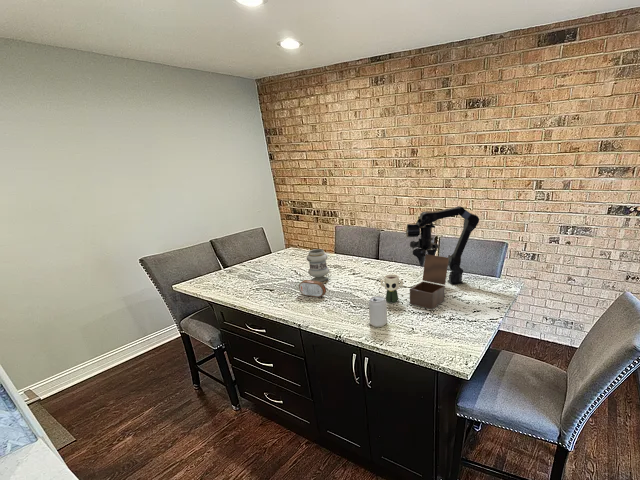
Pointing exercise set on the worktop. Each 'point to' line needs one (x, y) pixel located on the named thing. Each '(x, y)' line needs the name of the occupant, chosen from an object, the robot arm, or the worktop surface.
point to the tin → (312, 288)
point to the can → (378, 311)
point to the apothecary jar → (318, 265)
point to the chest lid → (435, 269)
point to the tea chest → (427, 294)
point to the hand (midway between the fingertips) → (425, 264)
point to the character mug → (391, 286)
